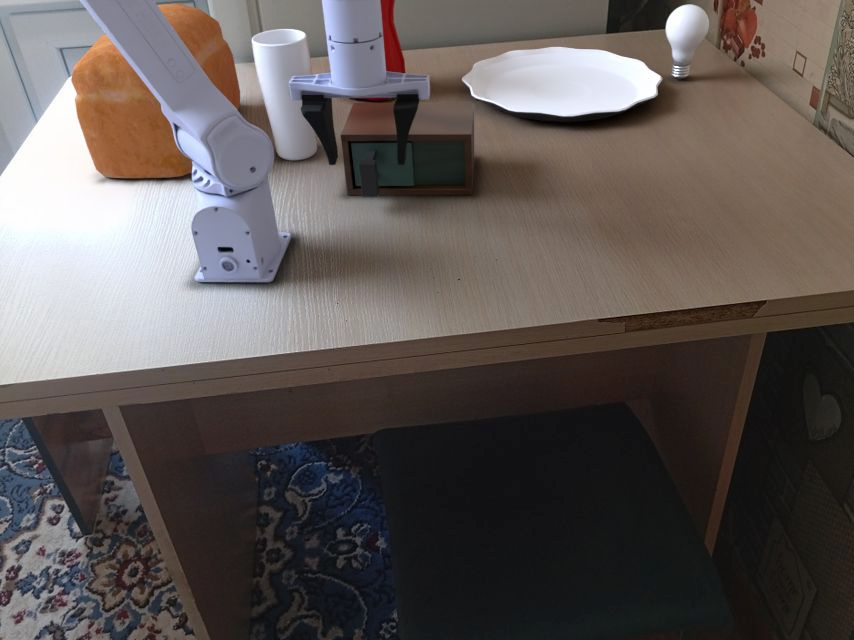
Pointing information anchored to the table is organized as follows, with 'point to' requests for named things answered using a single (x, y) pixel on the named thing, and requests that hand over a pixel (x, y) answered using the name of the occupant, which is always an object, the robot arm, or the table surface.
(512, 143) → the table surface
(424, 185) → the cupboard
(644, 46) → the table surface
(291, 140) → the white cylinder
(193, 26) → the bread
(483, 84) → the plate
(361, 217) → the table surface
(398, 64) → the water bottle
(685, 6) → the lightbulb
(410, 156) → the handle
